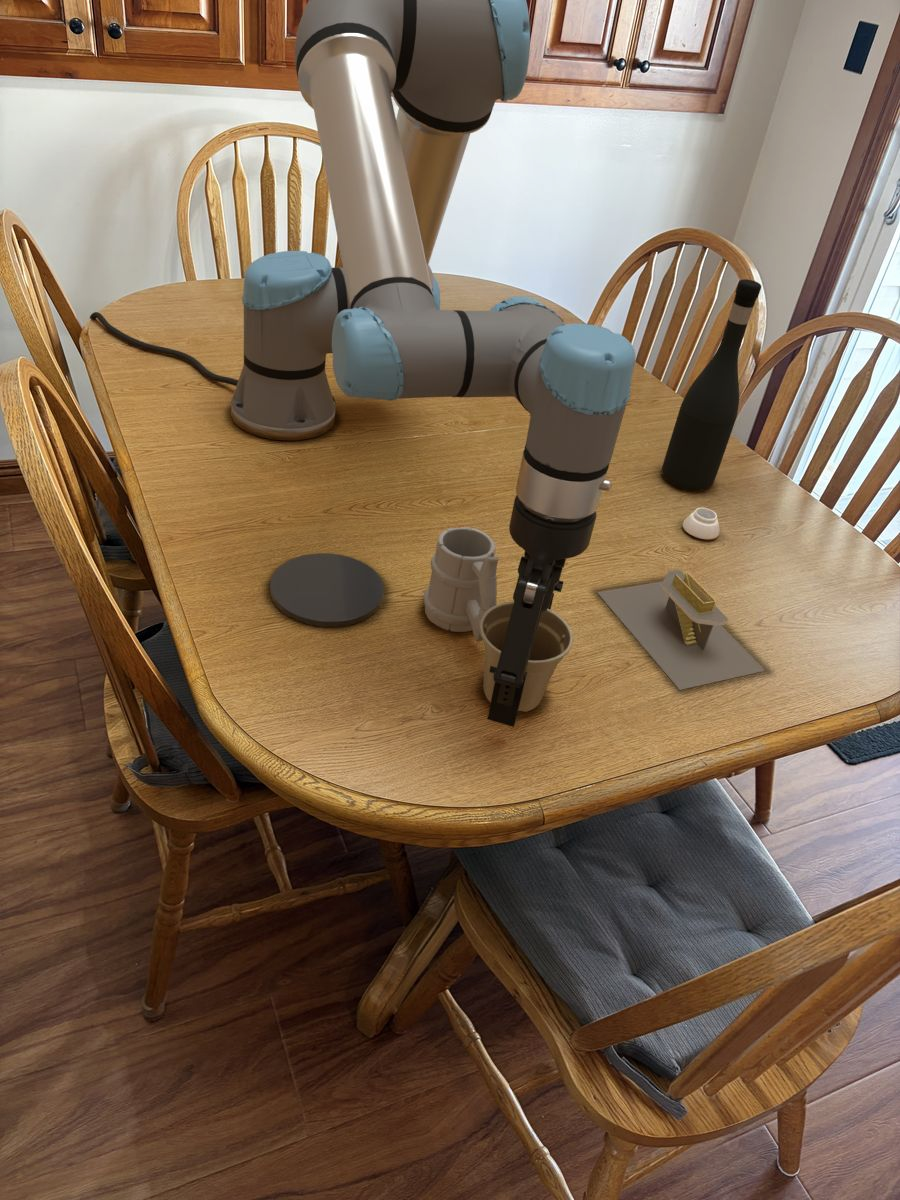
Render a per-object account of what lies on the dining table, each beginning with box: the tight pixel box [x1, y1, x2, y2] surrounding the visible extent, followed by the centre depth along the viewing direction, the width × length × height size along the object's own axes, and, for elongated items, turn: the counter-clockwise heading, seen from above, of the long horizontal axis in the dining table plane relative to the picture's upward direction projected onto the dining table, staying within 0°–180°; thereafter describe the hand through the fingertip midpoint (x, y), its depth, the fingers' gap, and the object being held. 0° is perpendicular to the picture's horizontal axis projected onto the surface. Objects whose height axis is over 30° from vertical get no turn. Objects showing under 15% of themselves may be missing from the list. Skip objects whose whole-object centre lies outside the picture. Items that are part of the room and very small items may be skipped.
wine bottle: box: [661, 278, 762, 492], centre depth 132 cm, size 8×8×30 cm
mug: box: [423, 526, 499, 642], centre depth 103 cm, size 8×12×12 cm, turn 23°
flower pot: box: [479, 600, 574, 713], centre depth 96 cm, size 9×9×9 cm
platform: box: [596, 569, 766, 691], centre depth 109 cm, size 12×18×7 cm, turn 23°
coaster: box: [269, 552, 385, 628], centre depth 108 cm, size 13×13×1 cm
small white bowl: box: [681, 507, 721, 540], centre depth 129 cm, size 5×3×5 cm
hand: (516, 678), depth 97 cm, fingers open, 13 cm apart
